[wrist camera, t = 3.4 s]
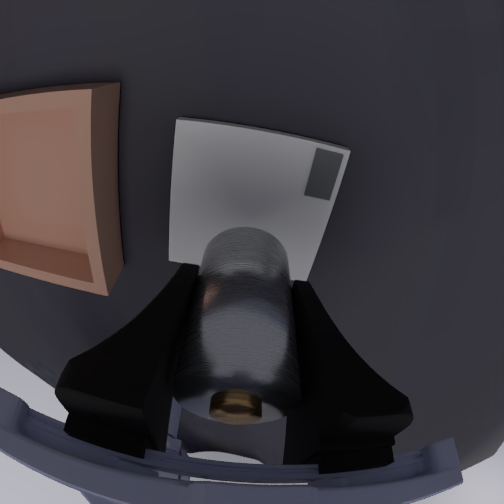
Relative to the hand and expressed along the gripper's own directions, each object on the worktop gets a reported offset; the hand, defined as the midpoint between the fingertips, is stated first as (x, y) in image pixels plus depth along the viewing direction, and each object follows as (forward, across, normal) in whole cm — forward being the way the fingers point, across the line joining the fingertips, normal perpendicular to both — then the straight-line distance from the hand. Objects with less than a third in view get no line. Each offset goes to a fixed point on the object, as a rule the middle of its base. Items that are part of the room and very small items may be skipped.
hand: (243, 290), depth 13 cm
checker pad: (+8, 0, 0) cm, 8 cm away
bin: (+8, +16, 0) cm, 18 cm away
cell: (+2, 0, 0) cm, 2 cm away
